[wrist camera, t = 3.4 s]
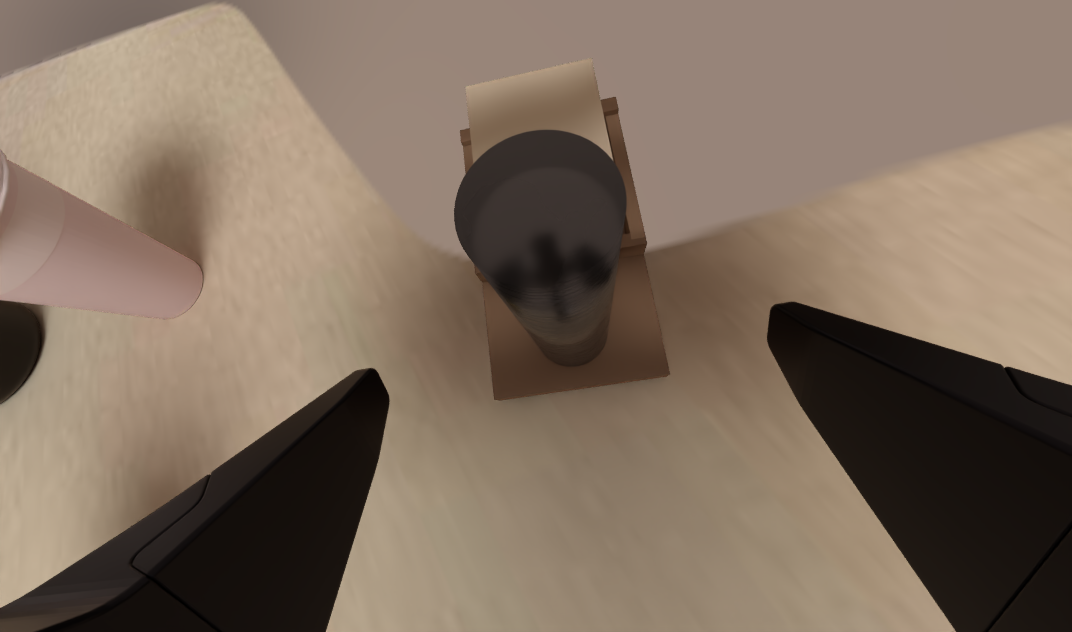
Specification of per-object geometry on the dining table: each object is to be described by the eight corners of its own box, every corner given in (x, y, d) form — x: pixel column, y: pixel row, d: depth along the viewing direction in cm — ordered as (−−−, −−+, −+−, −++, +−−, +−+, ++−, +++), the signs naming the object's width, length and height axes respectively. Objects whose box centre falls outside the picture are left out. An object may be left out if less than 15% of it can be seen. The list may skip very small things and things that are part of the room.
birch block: (610, 233, 19) (615, 170, 14) (506, 252, 19) (476, 197, 15) (592, 144, 20) (591, 57, 15) (495, 163, 21) (465, 86, 16)
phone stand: (665, 376, 18) (794, 298, 6) (499, 400, 19) (345, 369, 7) (613, 133, 21) (635, -204, 10) (474, 161, 22) (343, -119, 11)
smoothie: (128, 251, 24) (-455, 40, 11) (225, 224, 24) (-262, -33, 10) (119, 354, 22) (-590, 256, 9) (224, 328, 22) (-365, 182, 8)
